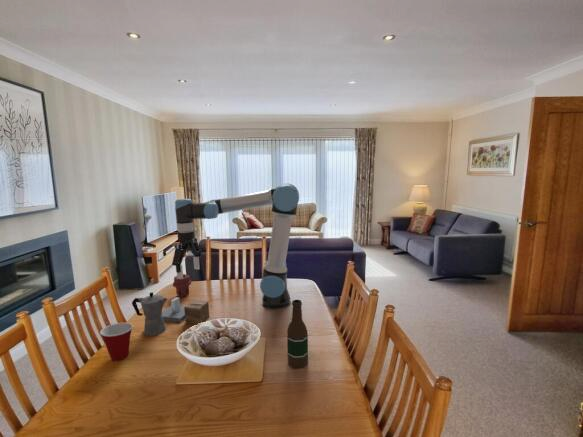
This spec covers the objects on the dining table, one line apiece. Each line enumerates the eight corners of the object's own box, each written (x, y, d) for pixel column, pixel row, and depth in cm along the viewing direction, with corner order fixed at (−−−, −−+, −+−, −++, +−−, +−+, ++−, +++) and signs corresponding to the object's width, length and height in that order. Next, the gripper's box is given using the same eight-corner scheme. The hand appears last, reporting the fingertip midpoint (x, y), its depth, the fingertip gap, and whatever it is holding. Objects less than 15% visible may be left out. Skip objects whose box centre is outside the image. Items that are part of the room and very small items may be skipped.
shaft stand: (194, 310, 149) (193, 295, 147) (180, 322, 137) (179, 305, 136) (172, 308, 152) (171, 293, 150) (157, 319, 140) (155, 303, 139)
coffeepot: (173, 324, 135) (170, 288, 133) (165, 335, 126) (162, 296, 123) (140, 325, 135) (136, 289, 132) (129, 336, 125) (125, 297, 123)
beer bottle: (293, 372, 102) (292, 307, 98) (283, 359, 108) (282, 299, 105) (312, 365, 105) (311, 302, 101) (301, 353, 112) (301, 294, 108)
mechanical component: (194, 291, 173) (188, 298, 163) (178, 291, 173) (170, 299, 163) (193, 272, 171) (186, 278, 161) (176, 272, 171) (169, 278, 161)
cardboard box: (194, 314, 144) (193, 299, 143) (209, 316, 142) (208, 300, 141) (185, 322, 137) (184, 306, 135) (200, 324, 135) (199, 308, 133)
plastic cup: (142, 350, 115) (139, 322, 113) (118, 368, 105) (114, 337, 103) (122, 346, 119) (118, 318, 117) (96, 362, 109) (92, 332, 107)
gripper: (193, 226, 151) (196, 265, 155) (161, 236, 128) (165, 282, 131) (206, 226, 149) (209, 266, 153) (175, 237, 126) (179, 283, 129)
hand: (188, 273), depth 142 cm, fingers open, 13 cm apart
